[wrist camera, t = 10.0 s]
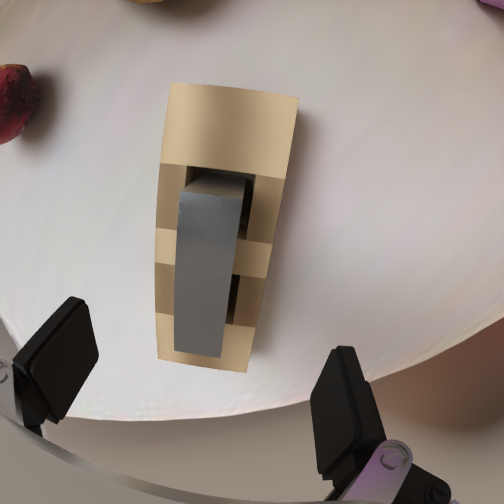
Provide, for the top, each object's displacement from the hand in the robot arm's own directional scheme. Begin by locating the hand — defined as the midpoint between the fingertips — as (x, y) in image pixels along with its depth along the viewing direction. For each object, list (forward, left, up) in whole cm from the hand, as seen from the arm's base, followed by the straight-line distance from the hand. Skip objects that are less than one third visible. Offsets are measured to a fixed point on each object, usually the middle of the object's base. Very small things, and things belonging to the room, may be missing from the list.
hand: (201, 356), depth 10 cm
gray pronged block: (+1, 0, -14) cm, 14 cm away
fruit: (+22, -11, -14) cm, 28 cm away
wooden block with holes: (+1, 0, -14) cm, 14 cm away
